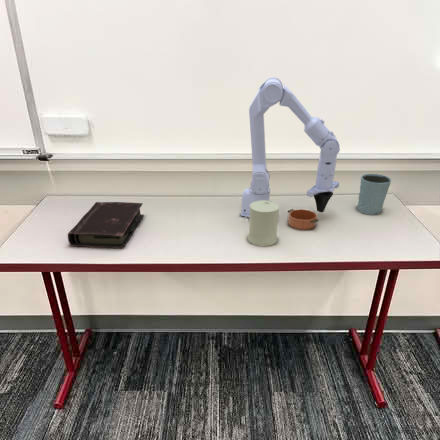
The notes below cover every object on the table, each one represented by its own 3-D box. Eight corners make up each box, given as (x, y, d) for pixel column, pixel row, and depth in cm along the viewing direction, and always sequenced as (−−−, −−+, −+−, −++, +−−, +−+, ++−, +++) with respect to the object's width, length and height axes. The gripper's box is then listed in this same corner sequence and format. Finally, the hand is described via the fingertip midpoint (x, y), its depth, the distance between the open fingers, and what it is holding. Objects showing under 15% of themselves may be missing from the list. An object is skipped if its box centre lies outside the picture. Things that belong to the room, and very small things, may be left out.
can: (279, 235, 139) (282, 200, 132) (273, 248, 132) (276, 212, 125) (252, 231, 141) (254, 197, 135) (244, 243, 134) (246, 208, 127)
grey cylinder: (350, 209, 156) (355, 177, 150) (364, 202, 162) (371, 171, 155) (374, 217, 150) (381, 185, 143) (389, 210, 156) (396, 178, 149)
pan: (298, 215, 152) (299, 206, 150) (324, 226, 144) (325, 217, 142) (280, 222, 147) (280, 212, 145) (305, 234, 140) (307, 224, 138)
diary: (68, 246, 133) (65, 232, 130) (96, 214, 153) (93, 200, 150) (126, 249, 131) (124, 234, 128) (146, 216, 152) (144, 202, 149)
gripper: (320, 181, 135) (315, 220, 143) (348, 172, 143) (342, 209, 150) (304, 175, 140) (299, 213, 148) (332, 167, 147) (326, 203, 155)
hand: (320, 211), depth 149 cm, fingers closed
